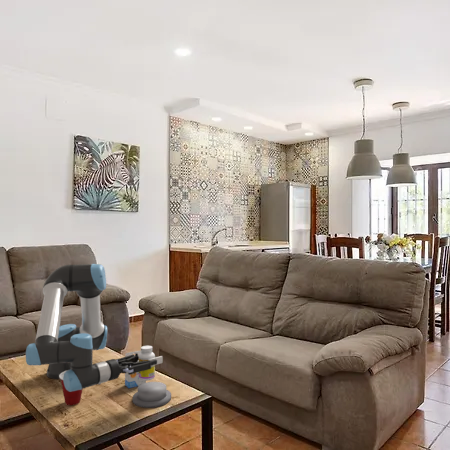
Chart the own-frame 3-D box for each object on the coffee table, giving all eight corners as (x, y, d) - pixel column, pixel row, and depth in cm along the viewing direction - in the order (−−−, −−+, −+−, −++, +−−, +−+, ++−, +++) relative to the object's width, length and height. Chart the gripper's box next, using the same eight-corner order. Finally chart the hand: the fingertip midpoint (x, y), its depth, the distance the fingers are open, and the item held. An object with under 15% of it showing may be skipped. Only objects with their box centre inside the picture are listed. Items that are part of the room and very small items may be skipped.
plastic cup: (70, 411, 158) (70, 380, 158) (53, 404, 163) (53, 375, 163) (92, 400, 167) (92, 372, 167) (75, 394, 173) (75, 367, 173)
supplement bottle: (139, 375, 168) (139, 344, 168) (155, 374, 169) (155, 344, 169) (137, 381, 161) (137, 349, 161) (154, 381, 162) (153, 349, 162)
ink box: (128, 388, 179) (128, 356, 179) (124, 385, 183) (124, 353, 183) (146, 384, 184) (146, 352, 184) (142, 381, 188) (142, 349, 188)
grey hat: (126, 406, 162) (126, 393, 162) (141, 390, 178) (141, 378, 178) (163, 409, 159) (163, 396, 159) (176, 392, 175) (176, 381, 175)
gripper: (94, 373, 160) (144, 360, 176) (119, 388, 146) (170, 372, 161) (94, 355, 160) (144, 343, 176) (119, 368, 145) (170, 353, 161)
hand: (156, 357), depth 168 cm, fingers closed on supplement bottle, 7 cm apart
